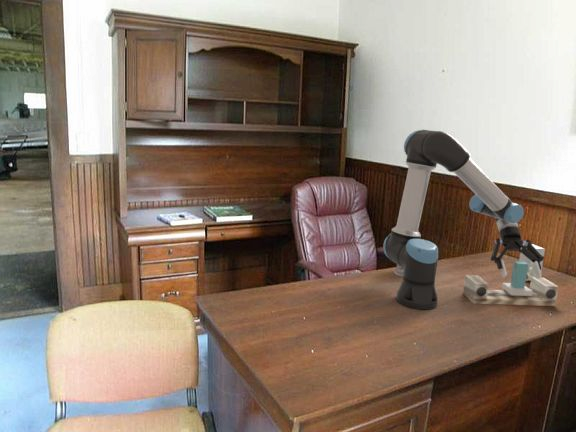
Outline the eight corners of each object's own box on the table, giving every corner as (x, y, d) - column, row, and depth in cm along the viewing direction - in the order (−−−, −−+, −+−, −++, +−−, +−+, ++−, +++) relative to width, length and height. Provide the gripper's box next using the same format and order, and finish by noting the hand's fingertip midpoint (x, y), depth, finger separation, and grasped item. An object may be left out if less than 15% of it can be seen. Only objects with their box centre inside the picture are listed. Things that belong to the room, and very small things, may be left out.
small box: (541, 275, 211) (545, 248, 208) (529, 276, 209) (534, 249, 206) (528, 269, 218) (532, 243, 216) (517, 270, 217) (521, 244, 214)
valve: (519, 278, 205) (523, 253, 202) (531, 277, 207) (535, 252, 204) (531, 284, 199) (535, 257, 196) (543, 282, 201) (547, 257, 198)
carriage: (511, 297, 176) (516, 265, 173) (501, 289, 183) (506, 259, 181) (531, 298, 176) (536, 266, 173) (520, 290, 184) (525, 259, 181)
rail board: (473, 303, 174) (476, 284, 173) (462, 293, 185) (465, 274, 183) (555, 306, 175) (559, 287, 173) (540, 296, 185) (543, 277, 184)
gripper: (533, 235, 191) (548, 282, 179) (475, 233, 190) (486, 280, 179) (543, 226, 184) (559, 274, 173) (482, 224, 184) (494, 271, 172)
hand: (522, 277), depth 176 cm, fingers open, 13 cm apart
